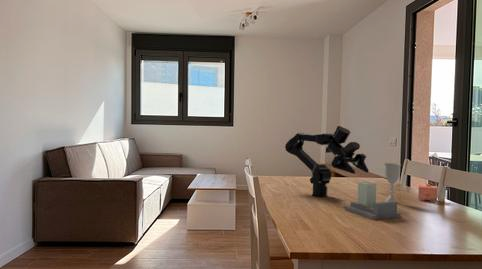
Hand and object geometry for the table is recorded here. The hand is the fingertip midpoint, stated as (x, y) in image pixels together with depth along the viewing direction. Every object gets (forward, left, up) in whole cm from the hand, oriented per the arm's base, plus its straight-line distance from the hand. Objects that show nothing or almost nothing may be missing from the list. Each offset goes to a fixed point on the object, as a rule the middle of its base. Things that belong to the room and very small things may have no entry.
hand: (361, 172), depth 149 cm
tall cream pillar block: (+4, -9, -13) cm, 16 cm away
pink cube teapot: (+27, +30, -15) cm, 43 cm away
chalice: (+11, +17, -15) cm, 26 cm away
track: (+6, -11, -15) cm, 19 cm away
